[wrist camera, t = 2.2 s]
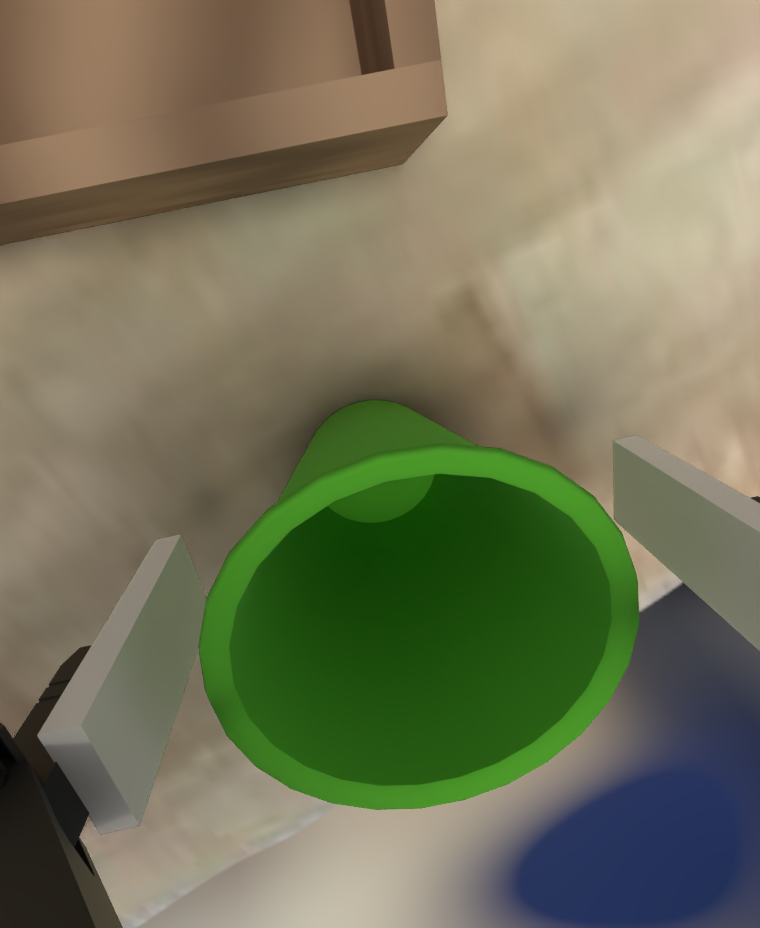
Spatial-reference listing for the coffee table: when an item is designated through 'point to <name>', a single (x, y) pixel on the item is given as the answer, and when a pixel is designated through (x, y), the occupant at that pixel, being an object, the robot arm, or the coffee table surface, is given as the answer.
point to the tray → (202, 101)
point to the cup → (416, 616)
